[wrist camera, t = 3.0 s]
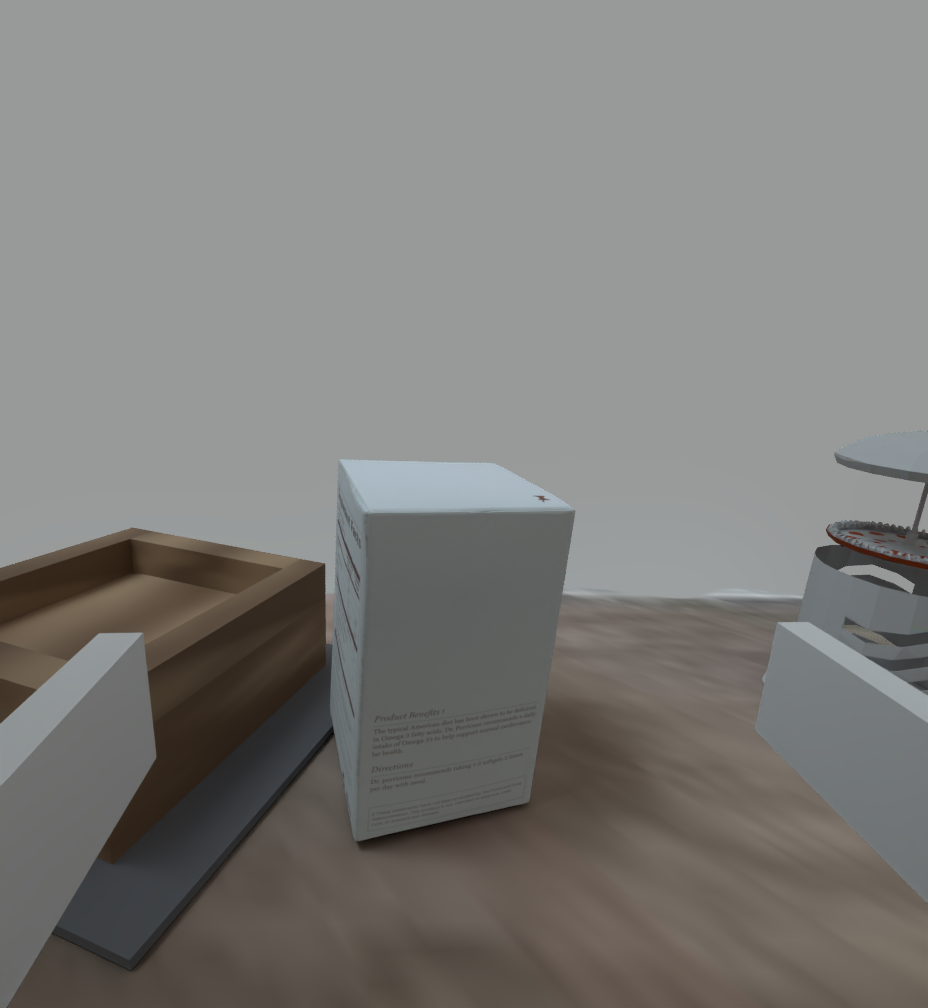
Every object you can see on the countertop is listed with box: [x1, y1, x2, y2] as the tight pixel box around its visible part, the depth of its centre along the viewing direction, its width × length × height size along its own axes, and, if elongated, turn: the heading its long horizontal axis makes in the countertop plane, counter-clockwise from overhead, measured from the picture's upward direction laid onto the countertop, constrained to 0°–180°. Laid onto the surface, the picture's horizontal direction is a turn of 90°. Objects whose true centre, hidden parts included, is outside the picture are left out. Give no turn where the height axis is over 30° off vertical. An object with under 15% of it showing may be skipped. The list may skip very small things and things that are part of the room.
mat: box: [52, 644, 334, 971], centre depth 25 cm, size 19×17×1 cm
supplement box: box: [330, 459, 575, 841], centre depth 22 cm, size 7×7×13 cm
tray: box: [0, 528, 326, 864], centre depth 25 cm, size 13×13×6 cm
